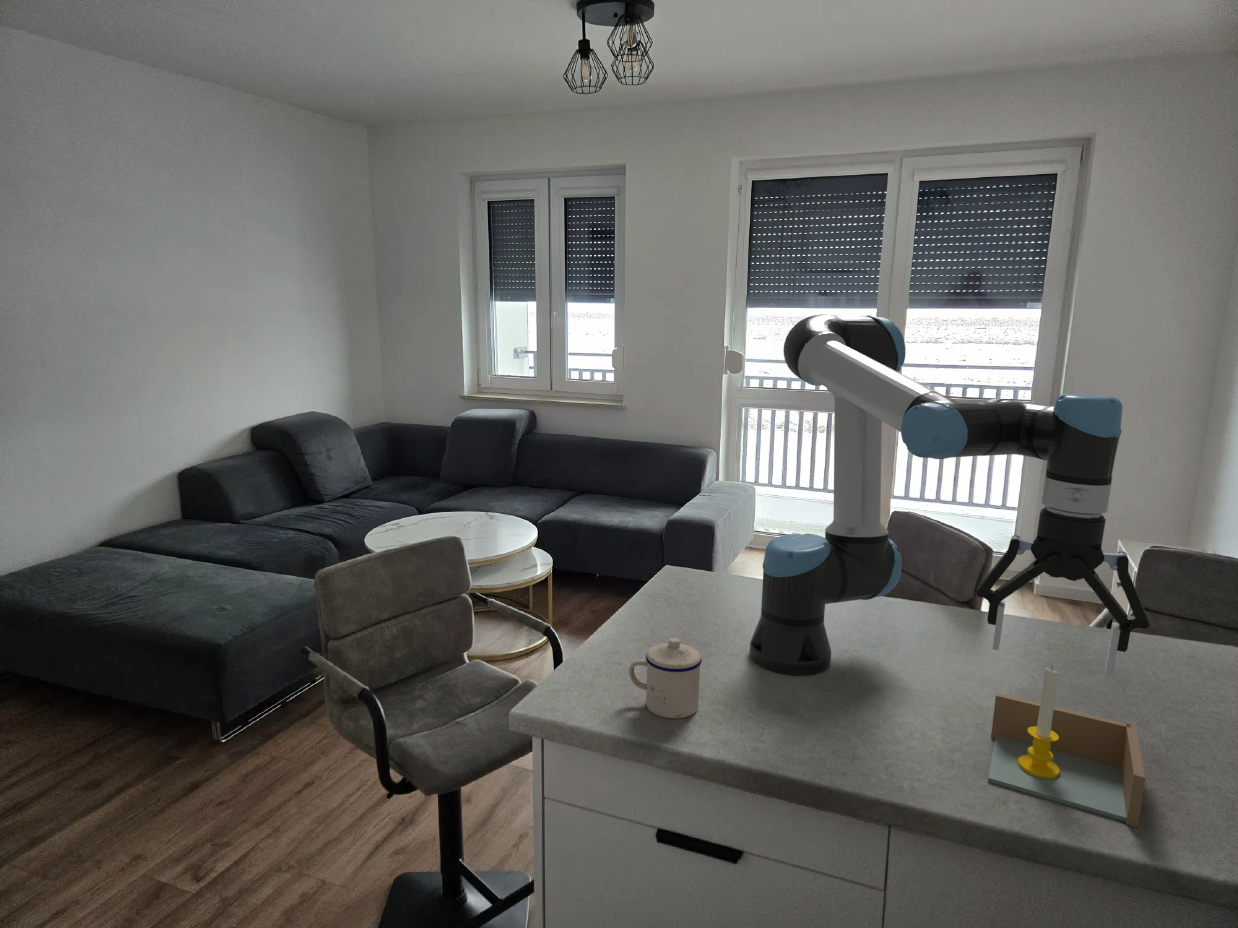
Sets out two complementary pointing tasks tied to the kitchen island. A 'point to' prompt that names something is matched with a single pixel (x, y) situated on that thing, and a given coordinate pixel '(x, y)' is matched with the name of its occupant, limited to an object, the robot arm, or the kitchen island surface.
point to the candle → (1043, 734)
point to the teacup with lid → (670, 679)
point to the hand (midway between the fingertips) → (1050, 658)
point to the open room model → (1071, 759)
